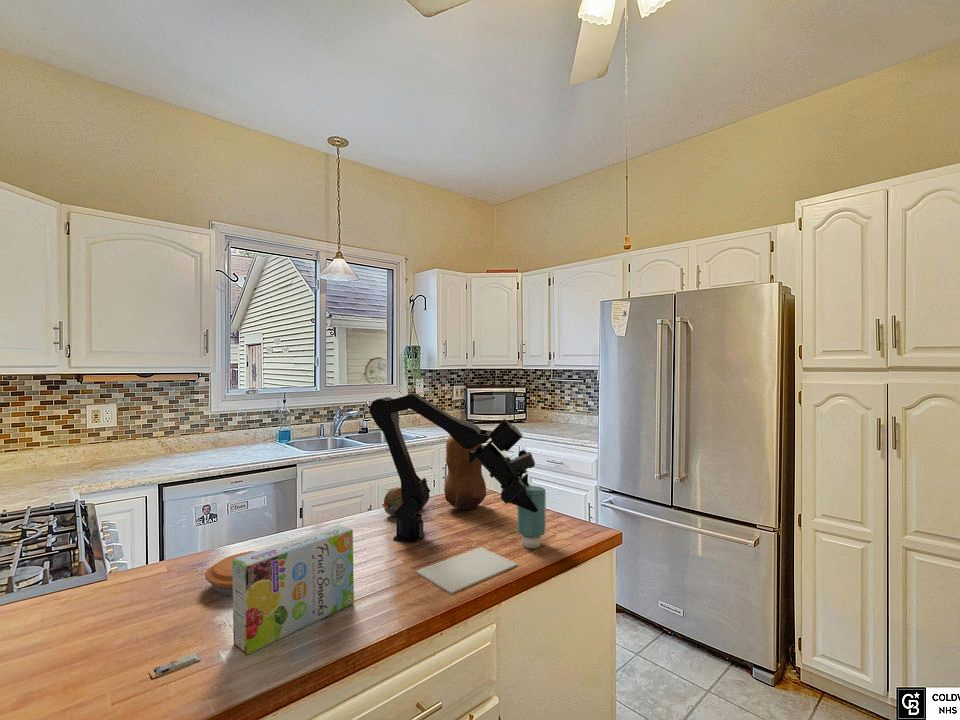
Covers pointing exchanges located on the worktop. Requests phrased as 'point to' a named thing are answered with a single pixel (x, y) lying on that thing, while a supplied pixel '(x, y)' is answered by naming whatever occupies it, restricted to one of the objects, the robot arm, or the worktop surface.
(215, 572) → the pie
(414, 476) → the robot arm
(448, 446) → the butternut squash
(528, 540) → the cream bowl
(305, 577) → the snack box
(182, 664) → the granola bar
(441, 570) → the grey mat
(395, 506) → the tin
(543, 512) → the teal cover
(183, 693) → the worktop surface
